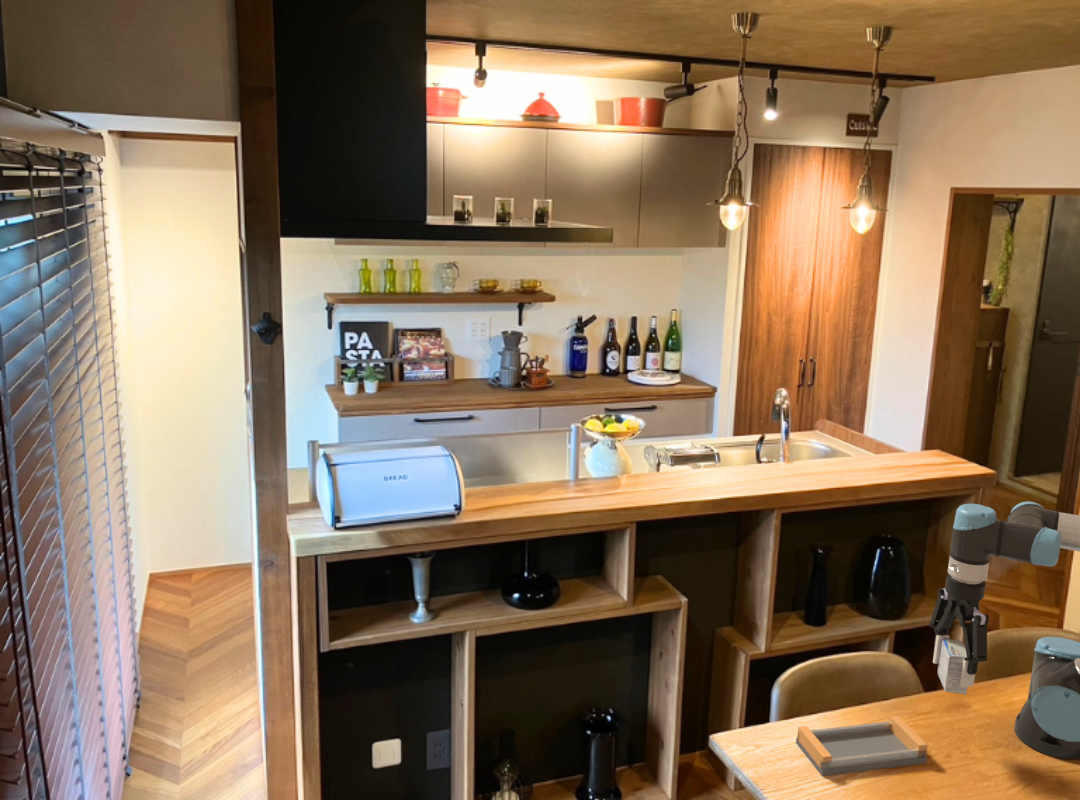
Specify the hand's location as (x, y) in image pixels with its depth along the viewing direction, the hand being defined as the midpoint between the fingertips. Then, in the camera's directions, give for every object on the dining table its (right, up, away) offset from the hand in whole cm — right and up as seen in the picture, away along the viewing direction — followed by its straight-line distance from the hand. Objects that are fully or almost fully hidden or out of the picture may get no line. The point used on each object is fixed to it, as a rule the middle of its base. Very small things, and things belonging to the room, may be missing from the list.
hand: (952, 673), depth 192 cm
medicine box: (0, -3, +1) cm, 3 cm away
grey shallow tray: (-20, -17, 0) cm, 26 cm away
